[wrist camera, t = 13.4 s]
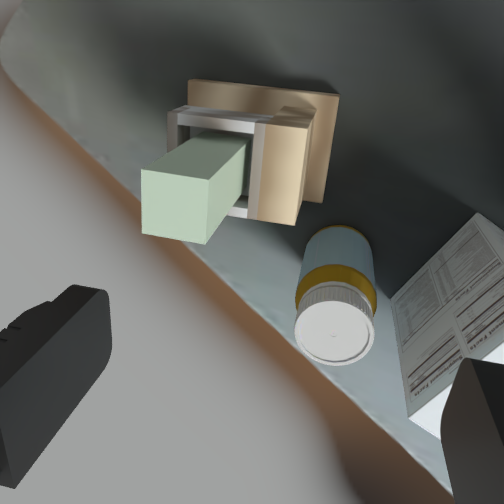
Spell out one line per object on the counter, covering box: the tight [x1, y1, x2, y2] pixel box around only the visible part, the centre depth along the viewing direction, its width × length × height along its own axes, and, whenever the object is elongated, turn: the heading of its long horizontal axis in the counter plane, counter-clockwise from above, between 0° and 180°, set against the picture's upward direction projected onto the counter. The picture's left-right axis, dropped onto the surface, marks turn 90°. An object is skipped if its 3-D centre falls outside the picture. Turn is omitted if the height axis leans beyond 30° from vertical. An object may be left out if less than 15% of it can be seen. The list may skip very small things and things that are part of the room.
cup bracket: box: [167, 79, 340, 226], centre depth 39 cm, size 14×10×12 cm
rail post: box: [141, 131, 251, 244], centre depth 31 cm, size 4×4×12 cm
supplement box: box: [390, 213, 504, 440], centre depth 39 cm, size 13×13×18 cm
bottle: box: [294, 225, 377, 366], centre depth 41 cm, size 7×7×15 cm
